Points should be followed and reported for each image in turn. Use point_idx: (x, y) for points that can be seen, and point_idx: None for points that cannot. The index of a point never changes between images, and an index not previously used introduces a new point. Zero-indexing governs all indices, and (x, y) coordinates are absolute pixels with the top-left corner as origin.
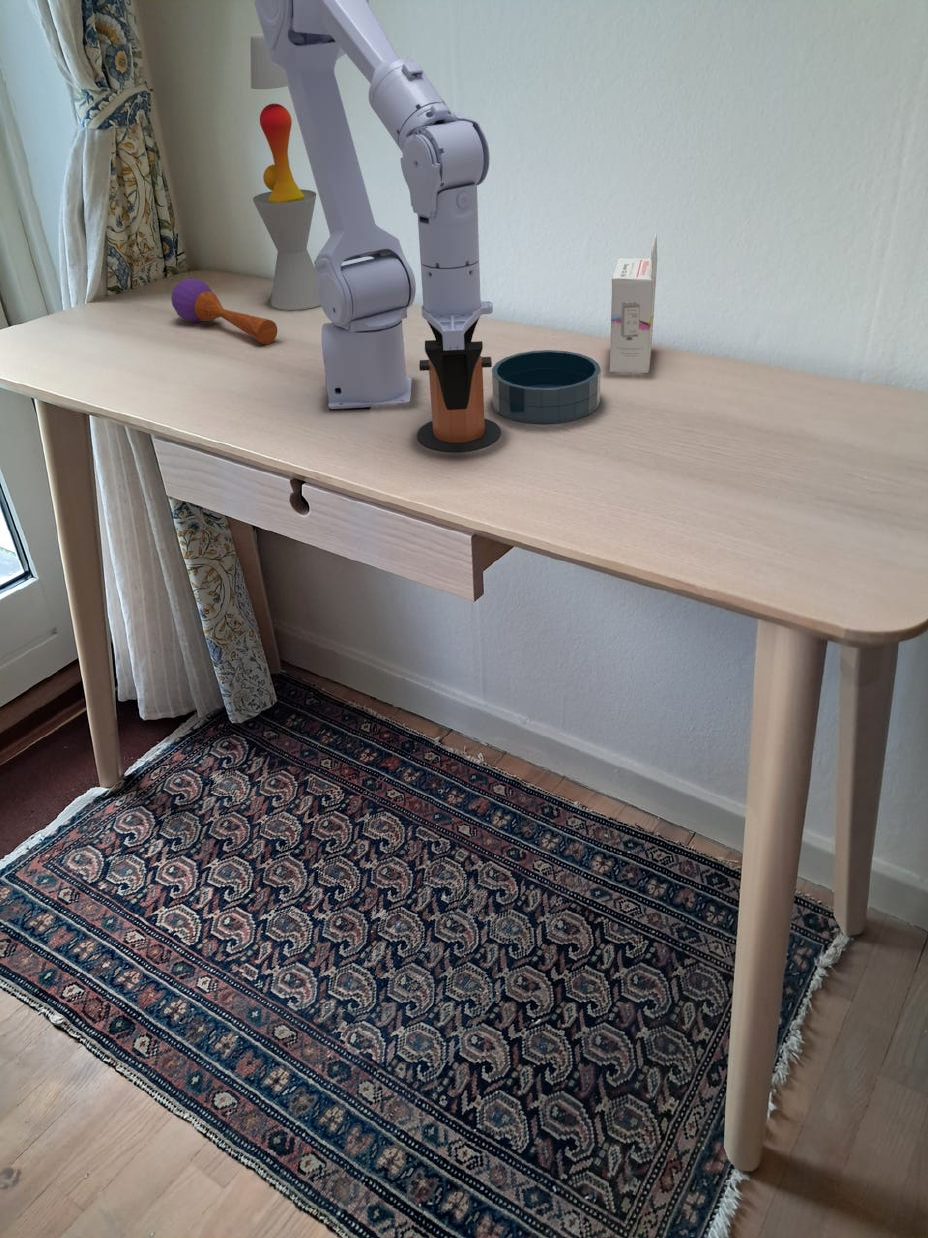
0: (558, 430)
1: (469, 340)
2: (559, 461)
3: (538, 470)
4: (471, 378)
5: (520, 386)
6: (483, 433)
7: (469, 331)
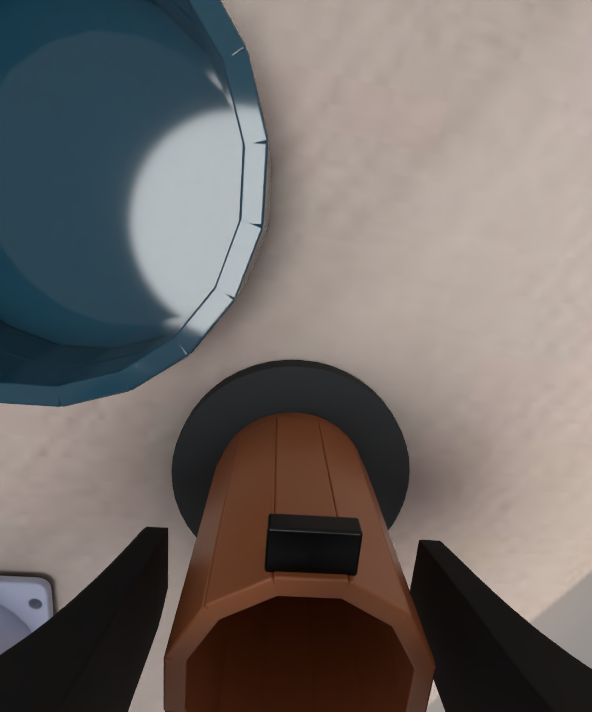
0: (285, 173)
1: (100, 653)
2: (504, 214)
3: (539, 285)
4: (535, 629)
5: (208, 312)
6: (319, 417)
7: (73, 707)
